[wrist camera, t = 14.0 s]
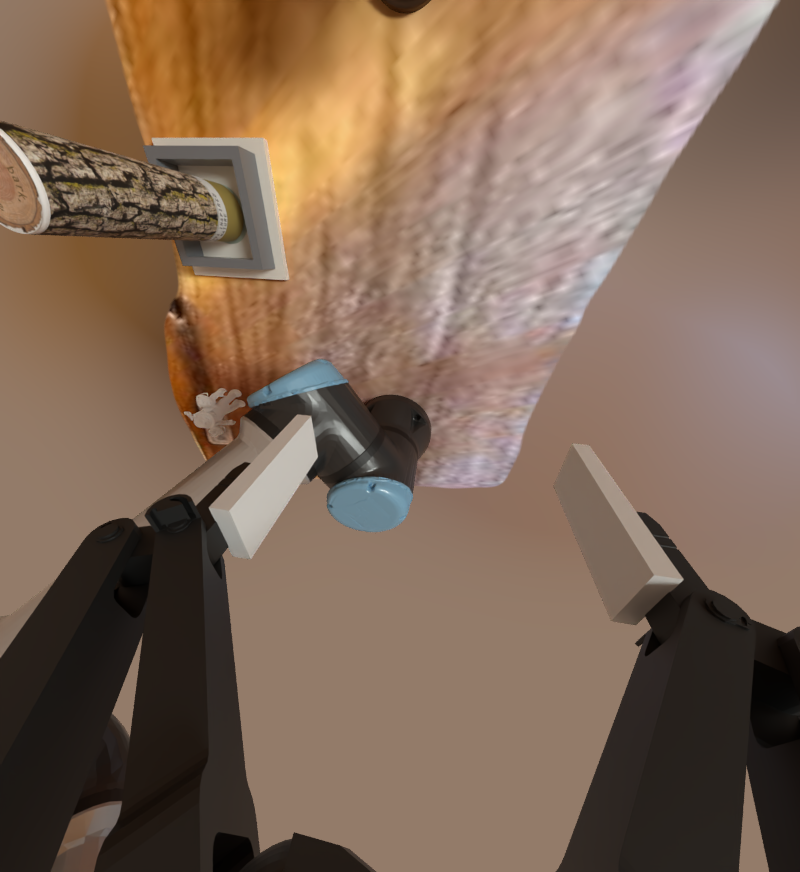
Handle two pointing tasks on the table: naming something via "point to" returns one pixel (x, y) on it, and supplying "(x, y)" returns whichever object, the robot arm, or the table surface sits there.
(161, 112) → the table surface
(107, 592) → the robot arm
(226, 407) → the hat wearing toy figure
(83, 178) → the paper tube
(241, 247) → the collar stand
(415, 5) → the candlestick
